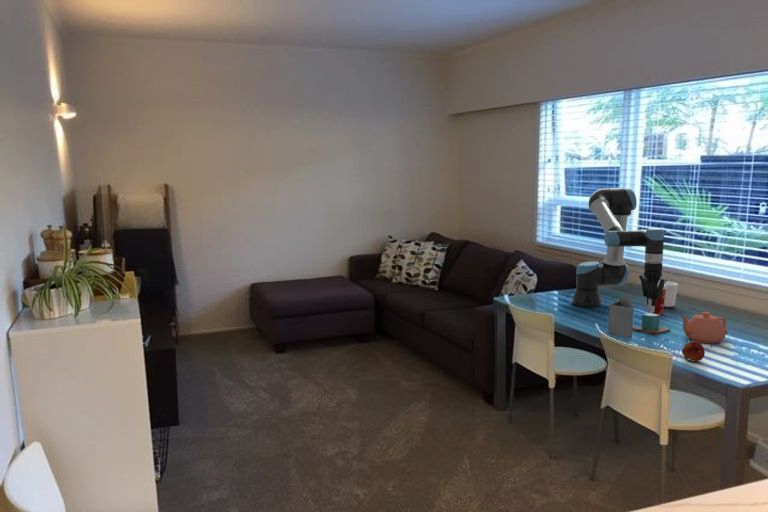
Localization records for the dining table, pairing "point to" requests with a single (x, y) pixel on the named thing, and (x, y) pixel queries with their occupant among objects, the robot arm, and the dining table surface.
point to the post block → (653, 332)
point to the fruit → (693, 351)
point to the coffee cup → (660, 303)
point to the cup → (670, 294)
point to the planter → (621, 317)
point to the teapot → (705, 328)
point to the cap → (650, 321)
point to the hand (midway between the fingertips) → (651, 312)
